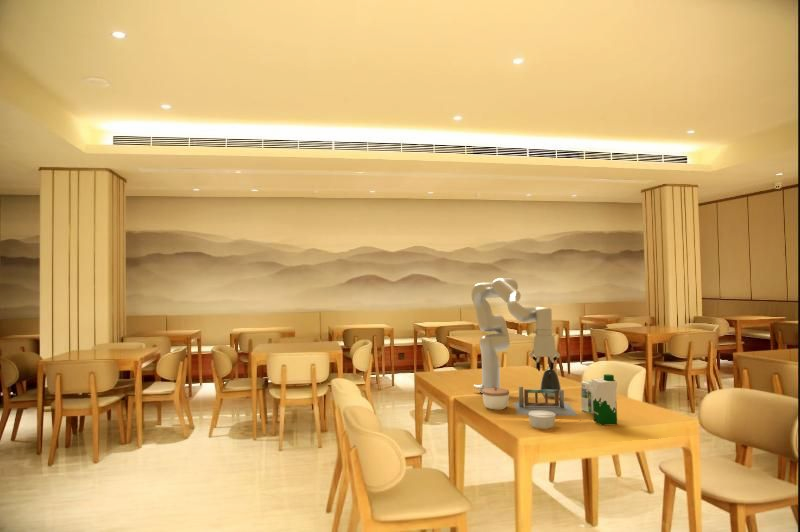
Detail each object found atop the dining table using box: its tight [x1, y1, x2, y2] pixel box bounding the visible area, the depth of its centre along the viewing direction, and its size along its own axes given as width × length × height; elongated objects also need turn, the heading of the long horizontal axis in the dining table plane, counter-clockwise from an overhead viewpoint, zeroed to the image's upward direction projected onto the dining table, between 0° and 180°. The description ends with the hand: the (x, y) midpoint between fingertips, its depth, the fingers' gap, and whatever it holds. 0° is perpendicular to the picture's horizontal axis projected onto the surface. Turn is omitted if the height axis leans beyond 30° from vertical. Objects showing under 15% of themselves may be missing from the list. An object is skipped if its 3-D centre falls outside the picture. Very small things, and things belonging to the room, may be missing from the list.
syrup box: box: [580, 380, 593, 414], centre depth 238 cm, size 6×6×14 cm
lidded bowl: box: [482, 386, 510, 411], centre depth 249 cm, size 13×13×11 cm
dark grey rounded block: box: [539, 367, 562, 399], centre depth 272 cm, size 10×10×15 cm
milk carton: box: [591, 374, 618, 426], centre depth 224 cm, size 9×9×20 cm
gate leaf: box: [523, 388, 560, 407], centre depth 248 cm, size 16×2×8 cm, turn 82°
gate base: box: [513, 386, 579, 417], centre depth 245 cm, size 26×24×10 cm
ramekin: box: [527, 410, 557, 430], centre depth 220 cm, size 11×11×5 cm
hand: (544, 370), depth 254 cm, fingers open, 5 cm apart
